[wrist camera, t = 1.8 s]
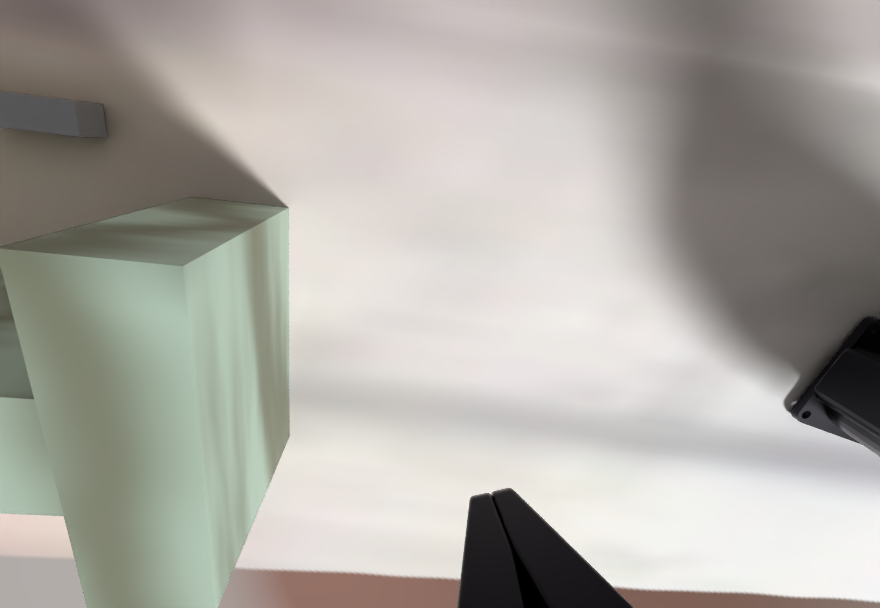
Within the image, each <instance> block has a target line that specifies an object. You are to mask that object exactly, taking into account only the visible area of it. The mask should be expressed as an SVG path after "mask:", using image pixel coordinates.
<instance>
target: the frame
mask: <svg viewBox="0 0 880 608" xmlns="http://www.w3.org/2000/svg"><path fill="white" fill-rule="evenodd" d="M0 127H2V128H10V129H18V130H26V131H35V132H43V133H51V134H59V135H67V136H76V137H107V130H106V123H105V116H104V109H103V104H98V103H90V102H82V101H74V100H67V99H59V98H51V97H43V96H36V95H28V94H20V93H12V92H5V91H0Z"/></svg>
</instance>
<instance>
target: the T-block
mask: <svg viewBox="0 0 880 608" xmlns="http://www.w3.org/2000/svg"><path fill="white" fill-rule="evenodd" d="M0 266H1V268H0V513H2V514H26V515H50V516H64V519H65V523H66V526H67V530H68V534H69V538H70V542H71V546H72V550H73V554H74V558H75V562H76V566H77V569H78V574H79V578H80V582H81V586H82V589H83V593H84V597H85V601H86V605H87V608H218V606H219V603H220V601H221V598H222V596H223V594H224V591H225V589H226V587H227V584H228V582H229V579H230V577H231V575H232V572H233V570H234V567H235V565H236V563H237V560H238V558H239V556H240V553H241V551H242V548H243V546H244V544H245V541H246V539H247V536H248V534H249V532H250V529H251V527H252V524H253V522H254V520H255V517H256V515H257V513H258V510H259V508H260V505H261V503H262V501H263V498H264V496H265V493H266V491H267V489H268V486H269V484H270V482H271V479H272V477H273V474H274V472H275V470H276V467H277V465H278V462H279V460H280V458H281V455H282V453H283V450H284V448H285V446H286V443H287V441H288V439H289V208H286V207H277V206H268V205H259V204H250V203H241V202H232V201H223V200H214V199H205V198H196V197H189V198H185V199H181V200H178V201H174V202H170V203H166V204H162V205H159V206H155V207H151V208H147V209H143V210H140V211H136V212H132V213H128V214H124V215H121V216H117V217H113V218H109V219H105V220H101V221H98V222H94V223H90V224H86V225H82V226H79V227H75V228H71V229H67V230H63V231H60V232H56V233H52V234H48V235H44V236H41V237H37V238H33V239H29V240H25V241H22V242H18V243H14V244H10V245H6V246H2V247H0Z"/></svg>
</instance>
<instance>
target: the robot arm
mask: <svg viewBox="0 0 880 608" xmlns="http://www.w3.org/2000/svg"><path fill="white" fill-rule="evenodd" d="M791 414H792V416H793V417H794V418H795V419H797V420H798V421H800V422H802V423H804V424H807V425H810V426H813V427H815V428H818V429H821V430H824V431H826V432H829V433H832V434H835V435H838V436H840V437H843V438H846V439H849V440H851V441H854V442H857V443H860V444H862V445H864V446H865V447H867V448H868V449H870V450H871V451H873V452H874V453H876V454H877V455H879V456H880V318H877V317H873V316H871V317H868V318H866V319H864V320H863V321H862V322H861V323H860V325H859V326H858V327H857V329H856V330H855V331H854V332H853V334H852V335H851V336H850V337H849V339H848V340H847V341H846V342H845V344H844V345H843V346H842V347H841V349H840V350H839V351H838V352H837V354H836V355H835V356H834V357H833V359H832V360H831V361H830V362H829V364H828V365H827V366H826V367H825V369H824V370H823V371H822V372H821V374H820V375H819V376H818V377H817V379H816V380H815V381H814V382H813V384H812V385H811V386H810V387H809V389H808V390H807V391H806V392H805V394H804V395H803V396H802V398H801V399H800V400H799V401H798V403H797V404H796V405H795V406H794V408H793V409H792V411H791ZM457 608H634V607H633V606H632V605H631V604H630V603H629V602H628V601H627V600H626V599H624V597H623V596H622V595H621V594H620V593H618V592H617V591H616V590H615V589H614V588H613V587H612V586H611V585H610V584H609V583H608V582H607V581H606V580H605V579H604V578H603V577H602V576H601V575H600V574H599V573H598V572H597V571H596V570H595V569H594V568H593V567H592V566H591V565H590V564H589V563H588V562H587V561H586V560H585V559H584V558H583V557H582V556H581V555H580V554H579V553H578V552H577V551H575V550H574V549H573V548H572V547H571V546H570V545H569V544H568V543H567V542H566V541H565V540H564V539H563V538H562V537H561V536H560V535H559V534H558V533H557V532H556V531H555V530H554V529H553V528H552V527H551V526H550V525H549V524H548V523H547V522H546V521H545V520H544V519H543V518H542V517H541V516H540V515H539V514H538V513H537V512H536V511H535V510H533V509H532V508H531V507H530V506H529V505H528V504H527V503H526V502H525V501H524V500H523V499H522V498H521V497H520V496H519V495H518V494H517V493H516V492H515V491H514V490H513V489H511V488H506V489H502V490H497V491H494V492H492V494H489V493H484V494H480V495H475V496H472V497H471V498H470V502H469V511H468V520H467V528H466V537H465V546H464V554H463V563H462V572H461V580H460V589H459V598H458V606H457Z"/></svg>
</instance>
